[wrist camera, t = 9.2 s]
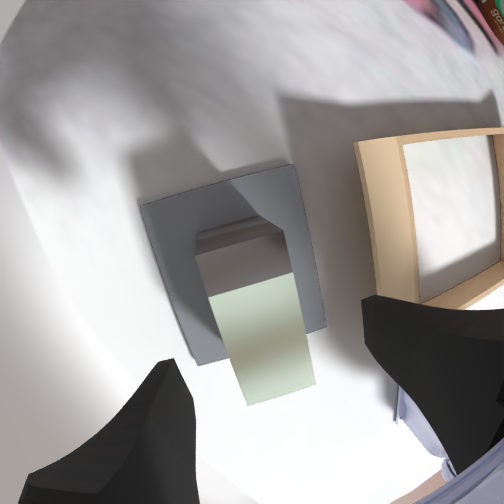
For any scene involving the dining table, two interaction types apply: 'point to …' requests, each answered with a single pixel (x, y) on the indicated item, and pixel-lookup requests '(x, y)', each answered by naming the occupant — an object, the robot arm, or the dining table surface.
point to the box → (256, 306)
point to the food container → (494, 16)
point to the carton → (402, 219)
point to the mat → (216, 214)
